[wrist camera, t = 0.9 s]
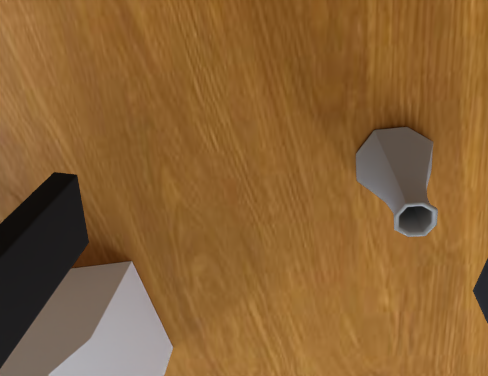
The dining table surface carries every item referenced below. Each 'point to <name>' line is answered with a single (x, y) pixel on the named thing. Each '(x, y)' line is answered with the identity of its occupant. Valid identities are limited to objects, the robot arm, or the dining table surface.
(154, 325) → the white pentagonal block
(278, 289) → the dining table surface
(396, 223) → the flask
